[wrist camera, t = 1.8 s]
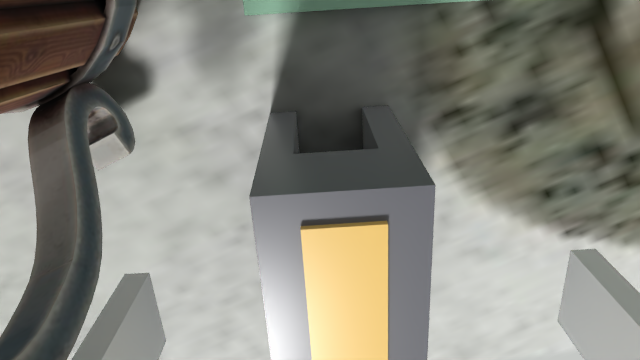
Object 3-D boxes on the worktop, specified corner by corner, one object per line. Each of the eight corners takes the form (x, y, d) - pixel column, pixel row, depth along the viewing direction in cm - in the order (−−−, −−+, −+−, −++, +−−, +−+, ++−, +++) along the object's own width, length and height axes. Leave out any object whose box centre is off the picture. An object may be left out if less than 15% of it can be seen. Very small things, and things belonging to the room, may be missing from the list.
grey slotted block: (286, 270, 23) (277, 413, 16) (270, 112, 20) (248, 200, 12) (387, 263, 23) (426, 403, 16) (388, 105, 20) (437, 188, 12)
